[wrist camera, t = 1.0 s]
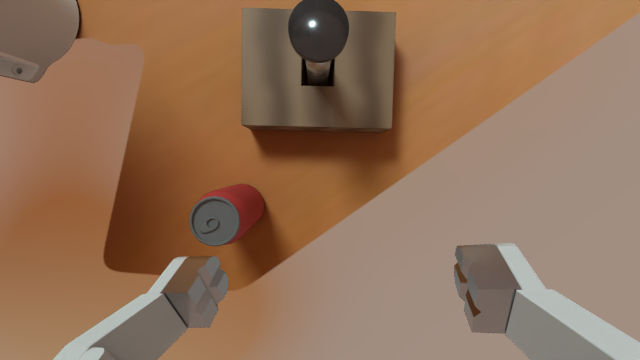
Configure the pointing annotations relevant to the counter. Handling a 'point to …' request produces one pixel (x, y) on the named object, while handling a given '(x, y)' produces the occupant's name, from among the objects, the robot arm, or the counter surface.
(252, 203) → the beer can
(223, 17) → the counter surface
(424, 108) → the counter surface
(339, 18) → the steel peg
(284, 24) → the brown flat block
